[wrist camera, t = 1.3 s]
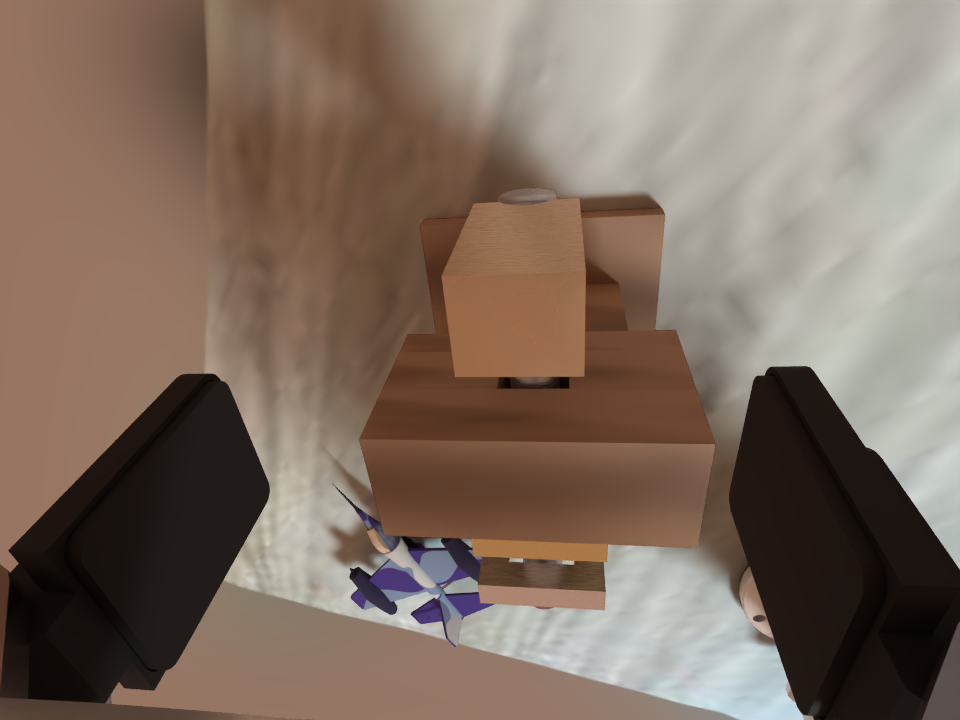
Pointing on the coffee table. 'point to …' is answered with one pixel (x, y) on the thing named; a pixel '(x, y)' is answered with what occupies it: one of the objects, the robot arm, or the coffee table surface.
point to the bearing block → (550, 419)
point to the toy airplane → (418, 578)
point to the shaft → (519, 293)
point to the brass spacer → (540, 550)
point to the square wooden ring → (542, 584)
